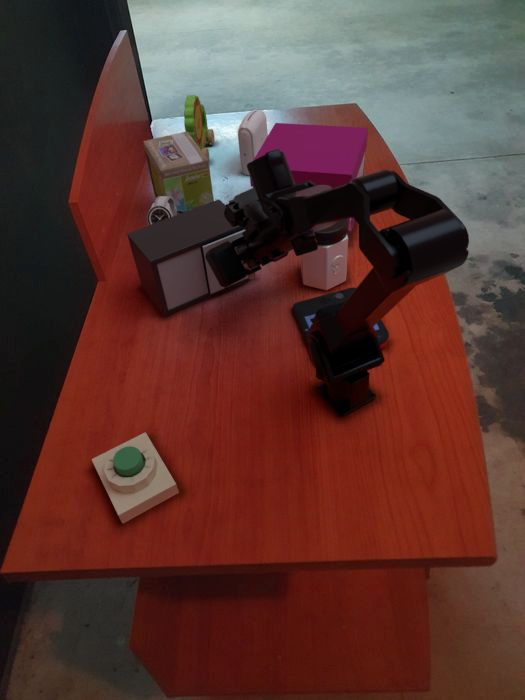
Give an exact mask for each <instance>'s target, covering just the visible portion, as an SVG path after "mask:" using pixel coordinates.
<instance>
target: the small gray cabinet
mask: <svg viewBox="0 0 525 700" xmlns="http://www.w3.org/2000/svg"><path fill="white" fill-rule="evenodd" d="M225 208H226V204H225V203H224V202H223V201H222V200H220V199H216V200H214V201H213V202H210V203H208V204H205V205H202V206H199V207H197V208H194V209H191V210H189V211H186V212H183V213H181V214H178V215H175V216H173V217H170V218H167V219H165V220H162V221H159V222H157V223H154V224H151V225H149V224H148V225H146V226H144V227H143V226H142V227H141V228H138V229H135V230H132V231H130V232H128V233H126V234H127V238H128V242H129V246H130V249H131V253H132V257H133V261H134V263H135V268H136V270H137V271H136V272H137V274H138V278H139V281H140V285H141V288H142V290H143V291H144V293H145V294H146V295H147V296H148V297H149V299H150V301H152V303H153V304H154V306H155V307H156V308H157V309H158V310H159V312H160V313H161V314H162V317H164V318H166V317H168V316H171V315H173V314H175V313H178V312H179V311H182V310H184V309H186V308H189V307H191V306H193V305H196V304H198V303H200V302H202V301H205V300H207V299H210V298H213V297H214V296H216V295H218V294H221V293H223V292H226V291H228V290H230V289H232V288H235V287H237V286H239V285H241V284H244V283H246V282H248V281H251V279H249V278H247V279H245V280H242V281H240V282H238V283H236V284H233V285H231V286H229V287H226V288H224V289H222V290H219V291H217V292H215V293H213V294H211V293H210V288H209V282H208V276H207V271H206V265H205V259H204V253H203V247H202V246H205V245H207V244H210V243H212V242H215V241H217V240H220V239H222V238H225V237H227V236H230V235H232V234H235V233H237V232H240V231H242V230H244V228H243V227H242V228H241V227H240V226H235V227H232V226H231V225H230V223H229V222H228V221H227V219H226V218H225V216H224V211H225Z"/></svg>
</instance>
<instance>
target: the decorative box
mask: <svg viewBox="0 0 525 700" xmlns="http://www.w3.org/2000/svg"><path fill="white" fill-rule="evenodd" d="M368 135H369V127H363V126H362V127H359V126H342V125H323V124H322V125H321V124H306V123H304V124H302V123H287V122H275V123H274V125H273V126H272V128H271V130H270V131H269V132H268V136H267V138H266V140H265V141H264V143H263V145H262V146H261V148H260V150H259V151H258V153H257V155H256V156H255V158H254V160H256V159H257V158H259V157H261V156H264V155H265V154H266V152H269V151H273V150H276V149H279V150H280V152H284V154H285V156H286V159H287V162H288V165H289V167H290V170H291V173H292V176H293V178H294V181H295V184H299V183H303V182H306V181H309V180H310V181H312V182H313V183H315V184H317V185H329V186H331V188H335V187H338V186H341V185H344V184H347V183H349V182H350V181H351V180H352V179H354V178H357V177H360V176H364V175H365V157H366V151H367V147H368V138H369V137H368ZM254 160H253V161H254ZM249 183H250V187H252V188H254V185H253V183H252V180H251V177H250V176H249ZM355 222H356V220H355V219H354V218H348V230H347V236H348V242H350V238H351V234H352V231H353V228H354V225H355Z"/></svg>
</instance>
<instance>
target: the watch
mask: <svg viewBox="0 0 525 700" xmlns="http://www.w3.org/2000/svg"><path fill="white" fill-rule="evenodd" d="M175 215H177V208H176V207H175V202H174V199H173V198H172V197H171V196H159V197H157V199H156V200H154V202H153V203H152V205H151V207H150V209H149V211H148V212H147V216H146V218H147V221H146V222H147V225H148V226H149V225H151V224H154V223H157V222H159V221H162V220H165V219H167V218H170V217H173V216H175Z"/></svg>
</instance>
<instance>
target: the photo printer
mask: <svg viewBox="0 0 525 700" xmlns="http://www.w3.org/2000/svg"><path fill="white" fill-rule="evenodd" d="M267 121H268V120H267V115H266V113H265V112H264V111H263V110H262V109H252V110H251V111H249V112H248V113H247V114H246V115H245V116H244V117H243V118H242V121H241V122H240V124H239V127H238V129H237V139H238V140H237V141H238V150H239V161H240V170H241V173H242V174H243V175H245V176H250V175H249V172H248V169H247V164H248V163H250V162H252V161H253V160H254V158H255V156H256V155H257V153H258V151H259V150H260V148H261V146H262V145H263V143H264V141H265V140H266V138H267V136H268V135H269V133H268V122H267Z"/></svg>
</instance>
